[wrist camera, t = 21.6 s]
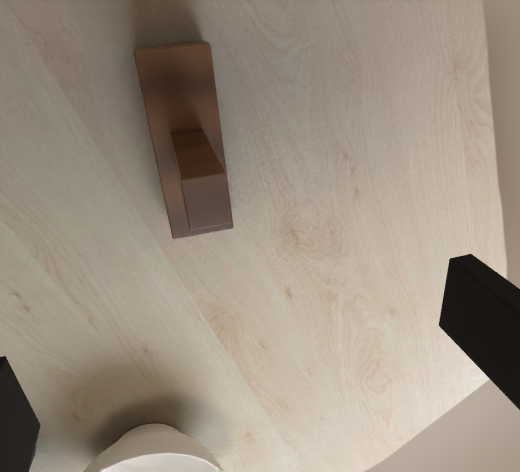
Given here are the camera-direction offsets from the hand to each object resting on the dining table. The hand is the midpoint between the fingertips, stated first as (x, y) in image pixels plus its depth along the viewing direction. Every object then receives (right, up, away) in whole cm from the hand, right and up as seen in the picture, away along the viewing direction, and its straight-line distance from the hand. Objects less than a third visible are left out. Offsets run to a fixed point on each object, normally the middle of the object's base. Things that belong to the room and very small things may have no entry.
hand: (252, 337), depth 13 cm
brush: (-6, +11, +21) cm, 25 cm away
